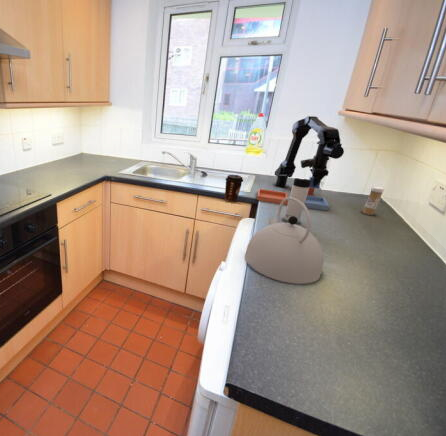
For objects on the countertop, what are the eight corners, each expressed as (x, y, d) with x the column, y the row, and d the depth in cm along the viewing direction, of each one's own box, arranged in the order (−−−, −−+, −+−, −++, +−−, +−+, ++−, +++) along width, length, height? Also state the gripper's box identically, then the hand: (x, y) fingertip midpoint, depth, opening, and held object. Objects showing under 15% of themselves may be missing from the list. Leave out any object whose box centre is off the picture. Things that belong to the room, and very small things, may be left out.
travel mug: (284, 222, 132) (296, 179, 124) (282, 217, 137) (293, 175, 130) (300, 225, 130) (313, 180, 122) (297, 219, 135) (310, 177, 128)
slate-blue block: (307, 185, 156) (309, 176, 154) (317, 186, 154) (319, 177, 153) (308, 187, 152) (310, 178, 151) (318, 188, 151) (321, 180, 149)
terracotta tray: (257, 192, 171) (258, 188, 170) (286, 197, 166) (287, 192, 165) (256, 200, 159) (257, 195, 158) (287, 204, 154) (288, 200, 153)
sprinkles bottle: (360, 212, 147) (369, 186, 142) (367, 211, 148) (377, 185, 142) (368, 215, 143) (378, 188, 137) (376, 215, 143) (387, 188, 138)
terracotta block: (302, 192, 175) (305, 185, 173) (311, 193, 173) (313, 186, 171) (303, 194, 171) (305, 187, 169) (312, 195, 169) (314, 188, 167)
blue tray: (292, 197, 165) (293, 193, 164) (323, 201, 160) (324, 197, 159) (294, 205, 153) (295, 201, 152) (327, 210, 148) (329, 205, 147)
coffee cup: (237, 197, 162) (241, 174, 157) (241, 203, 154) (246, 178, 149) (220, 196, 163) (224, 173, 158) (224, 202, 155) (228, 177, 150)
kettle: (233, 243, 112) (245, 186, 103) (294, 245, 112) (310, 188, 103) (260, 282, 89) (278, 212, 80) (336, 285, 89) (363, 215, 80)
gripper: (302, 150, 158) (294, 178, 164) (305, 156, 142) (297, 187, 148) (326, 152, 153) (318, 181, 160) (333, 158, 138) (323, 190, 144)
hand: (313, 185), depth 153 cm, fingers closed on slate-blue block, 4 cm apart
